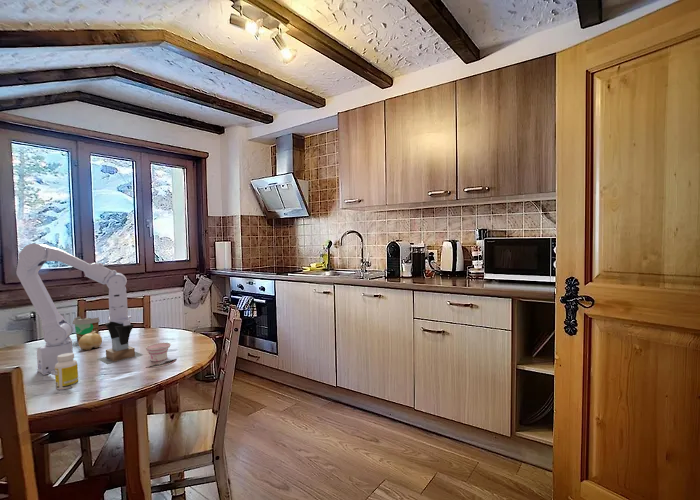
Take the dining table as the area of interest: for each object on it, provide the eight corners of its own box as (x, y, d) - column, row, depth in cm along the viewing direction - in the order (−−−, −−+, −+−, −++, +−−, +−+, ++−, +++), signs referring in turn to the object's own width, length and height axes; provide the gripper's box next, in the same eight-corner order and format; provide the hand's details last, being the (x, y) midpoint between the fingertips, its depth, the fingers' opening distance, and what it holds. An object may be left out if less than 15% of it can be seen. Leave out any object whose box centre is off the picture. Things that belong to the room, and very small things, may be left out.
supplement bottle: (82, 382, 112) (81, 351, 112) (69, 390, 107) (68, 357, 107) (64, 383, 112) (63, 352, 112) (51, 390, 107) (49, 358, 107)
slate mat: (107, 367, 126) (107, 364, 126) (96, 361, 132) (96, 359, 132) (143, 357, 136) (143, 354, 136) (132, 352, 142) (132, 350, 142)
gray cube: (116, 351, 131) (116, 340, 131) (112, 349, 134) (111, 338, 133) (128, 348, 134) (128, 337, 134) (124, 346, 137) (123, 336, 137)
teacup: (184, 358, 134) (183, 341, 134) (159, 369, 123) (158, 351, 122) (157, 356, 137) (157, 340, 137) (131, 367, 126) (130, 349, 126)
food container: (66, 341, 161) (65, 319, 161) (80, 337, 167) (79, 316, 167) (87, 343, 158) (86, 320, 158) (100, 339, 164) (99, 317, 163)
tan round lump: (100, 349, 147) (99, 332, 147) (76, 352, 144) (75, 335, 144) (103, 344, 155) (103, 328, 154) (81, 347, 151) (80, 331, 151)
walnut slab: (113, 361, 129) (113, 353, 129) (106, 357, 133) (105, 349, 133) (134, 355, 135) (134, 348, 135) (126, 352, 139) (126, 345, 139)
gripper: (138, 306, 132) (140, 342, 133) (121, 302, 141) (123, 337, 141) (117, 309, 127) (118, 347, 127) (101, 305, 135) (102, 341, 136)
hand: (119, 342), depth 134 cm, fingers open, 7 cm apart
